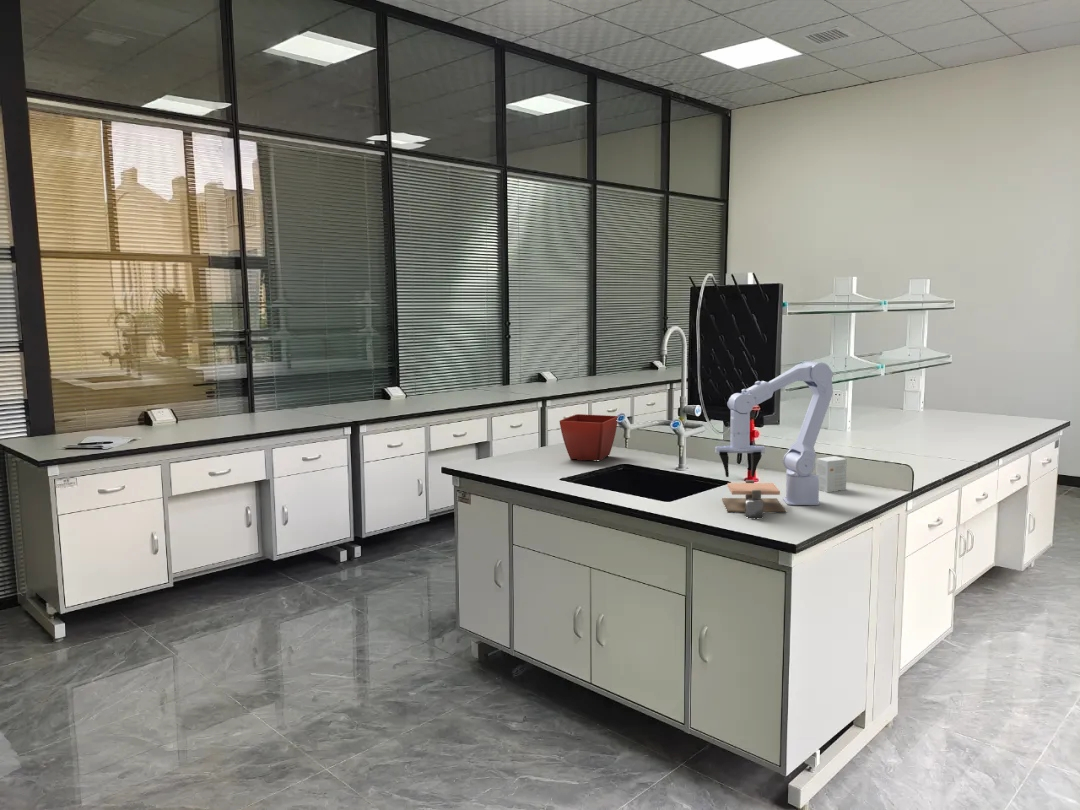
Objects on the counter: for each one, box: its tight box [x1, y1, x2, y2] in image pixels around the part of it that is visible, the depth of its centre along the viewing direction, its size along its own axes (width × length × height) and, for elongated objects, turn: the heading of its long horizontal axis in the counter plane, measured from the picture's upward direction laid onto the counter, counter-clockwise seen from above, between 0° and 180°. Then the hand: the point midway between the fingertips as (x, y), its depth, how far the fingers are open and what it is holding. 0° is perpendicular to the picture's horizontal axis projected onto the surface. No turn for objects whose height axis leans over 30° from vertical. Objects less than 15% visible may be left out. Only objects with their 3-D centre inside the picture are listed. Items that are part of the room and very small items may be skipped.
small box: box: [815, 455, 848, 493], centre depth 254 cm, size 8×6×10 cm
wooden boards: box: [721, 479, 787, 513], centre depth 236 cm, size 17×15×6 cm
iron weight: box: [744, 498, 764, 520], centre depth 224 cm, size 5×5×5 cm
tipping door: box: [727, 482, 781, 496], centre depth 236 cm, size 14×12×1 cm
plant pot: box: [559, 413, 619, 461], centre depth 317 cm, size 19×19×17 cm
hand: (739, 476), depth 236 cm, fingers open, 7 cm apart
